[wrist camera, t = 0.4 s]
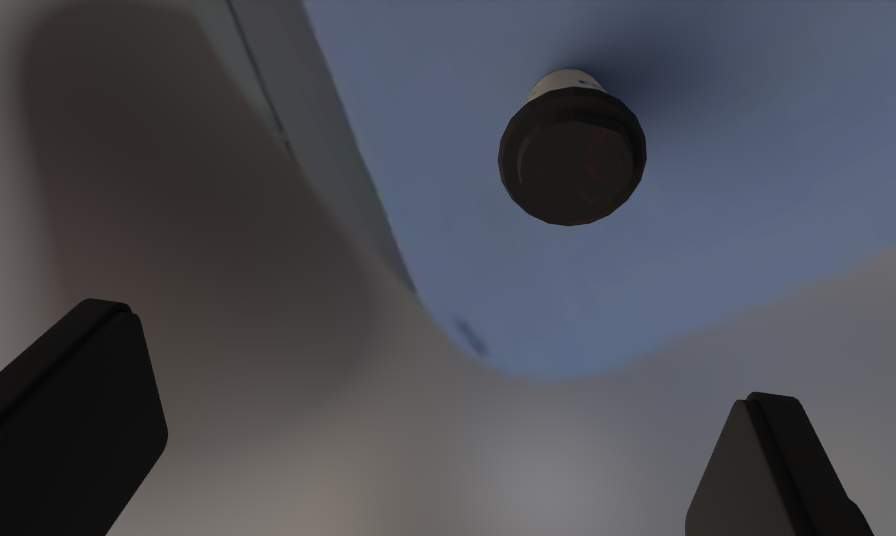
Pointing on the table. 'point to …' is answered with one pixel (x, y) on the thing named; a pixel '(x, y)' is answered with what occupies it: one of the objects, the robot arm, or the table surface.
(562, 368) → the table surface
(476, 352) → the table surface
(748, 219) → the table surface
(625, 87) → the table surface
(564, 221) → the coffee cup
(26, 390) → the robot arm
